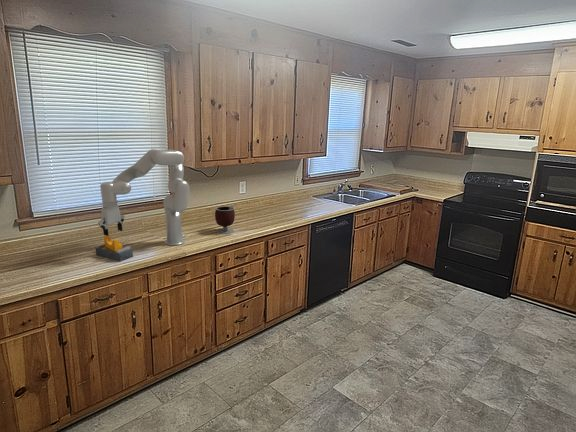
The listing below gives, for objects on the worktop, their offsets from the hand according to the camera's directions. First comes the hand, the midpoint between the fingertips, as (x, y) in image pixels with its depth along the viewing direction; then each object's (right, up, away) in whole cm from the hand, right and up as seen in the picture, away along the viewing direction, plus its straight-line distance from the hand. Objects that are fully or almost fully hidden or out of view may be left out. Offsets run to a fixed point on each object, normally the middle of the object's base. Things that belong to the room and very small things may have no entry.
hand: (113, 232), depth 225 cm
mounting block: (-1, -14, +3) cm, 14 cm away
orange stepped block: (-1, -9, +2) cm, 9 cm away
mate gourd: (+56, -1, +56) cm, 80 cm away
